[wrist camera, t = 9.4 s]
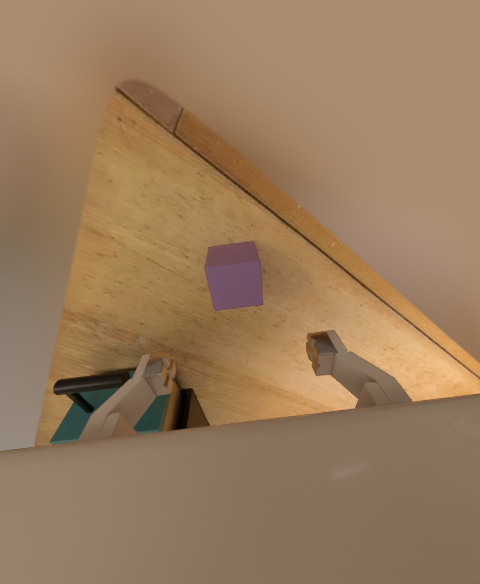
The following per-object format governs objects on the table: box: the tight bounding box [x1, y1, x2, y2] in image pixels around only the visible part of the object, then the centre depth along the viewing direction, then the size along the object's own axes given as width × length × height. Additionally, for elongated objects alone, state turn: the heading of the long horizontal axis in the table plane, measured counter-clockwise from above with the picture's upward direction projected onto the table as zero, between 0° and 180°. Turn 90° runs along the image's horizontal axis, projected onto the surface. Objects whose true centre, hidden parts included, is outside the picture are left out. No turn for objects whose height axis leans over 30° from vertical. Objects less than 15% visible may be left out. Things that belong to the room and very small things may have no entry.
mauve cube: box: [205, 241, 263, 311], centre depth 19 cm, size 4×4×4 cm
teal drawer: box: [50, 371, 186, 445], centre depth 27 cm, size 19×12×8 cm, turn 7°
